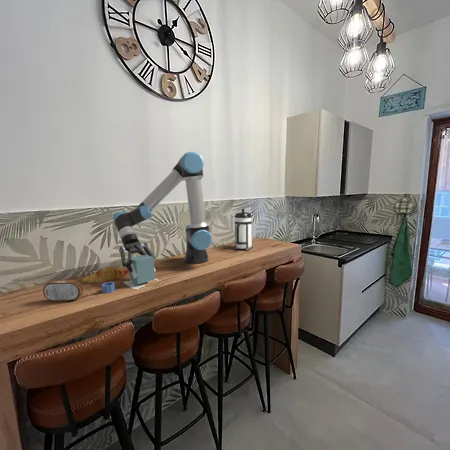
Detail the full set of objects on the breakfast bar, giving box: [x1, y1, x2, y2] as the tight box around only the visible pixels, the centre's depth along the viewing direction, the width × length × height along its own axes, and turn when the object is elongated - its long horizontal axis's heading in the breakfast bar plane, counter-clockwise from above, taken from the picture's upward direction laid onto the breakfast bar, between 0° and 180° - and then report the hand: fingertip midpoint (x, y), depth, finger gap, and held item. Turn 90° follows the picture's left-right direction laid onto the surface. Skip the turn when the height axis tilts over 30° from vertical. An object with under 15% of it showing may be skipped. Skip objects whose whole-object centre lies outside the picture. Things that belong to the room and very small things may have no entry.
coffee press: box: [233, 208, 253, 252], centre depth 191 cm, size 17×16×30 cm
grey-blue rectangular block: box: [129, 254, 156, 284], centre depth 126 cm, size 9×9×11 cm
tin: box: [42, 279, 84, 301], centre depth 108 cm, size 15×3×8 cm, turn 92°
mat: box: [122, 277, 159, 290], centre depth 127 cm, size 14×14×1 cm
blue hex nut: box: [101, 281, 116, 294], centre depth 116 cm, size 5×5×4 cm
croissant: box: [82, 266, 129, 284], centre depth 133 cm, size 21×10×8 cm, turn 127°
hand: (145, 274), depth 124 cm, fingers closed on grey-blue rectangular block, 9 cm apart
